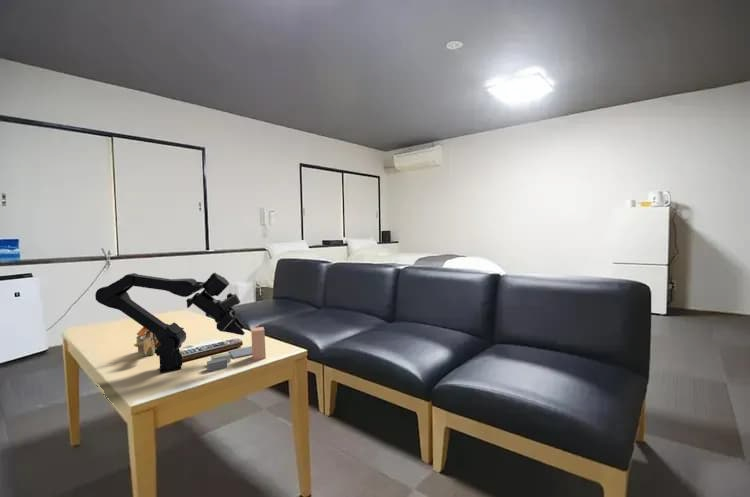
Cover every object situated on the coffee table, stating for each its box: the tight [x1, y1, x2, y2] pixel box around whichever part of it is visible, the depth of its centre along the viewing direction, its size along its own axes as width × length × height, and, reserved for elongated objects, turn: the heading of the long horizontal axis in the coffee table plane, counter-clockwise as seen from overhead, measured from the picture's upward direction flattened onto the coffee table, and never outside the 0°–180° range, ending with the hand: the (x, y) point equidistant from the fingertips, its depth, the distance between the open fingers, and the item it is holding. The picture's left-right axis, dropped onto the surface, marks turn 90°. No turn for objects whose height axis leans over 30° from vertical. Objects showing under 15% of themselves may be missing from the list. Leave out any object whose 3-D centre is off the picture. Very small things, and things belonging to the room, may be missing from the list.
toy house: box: [136, 326, 161, 356], centre depth 139 cm, size 8×21×14 cm, turn 20°
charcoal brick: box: [206, 358, 228, 373], centre depth 125 cm, size 6×3×3 cm, turn 127°
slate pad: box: [228, 345, 252, 360], centre depth 141 cm, size 11×9×1 cm
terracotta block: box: [250, 326, 267, 361], centre depth 134 cm, size 4×4×11 cm
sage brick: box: [210, 352, 232, 364], centre depth 130 cm, size 6×3×3 cm, turn 125°
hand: (243, 330), depth 132 cm, fingers open, 9 cm apart
